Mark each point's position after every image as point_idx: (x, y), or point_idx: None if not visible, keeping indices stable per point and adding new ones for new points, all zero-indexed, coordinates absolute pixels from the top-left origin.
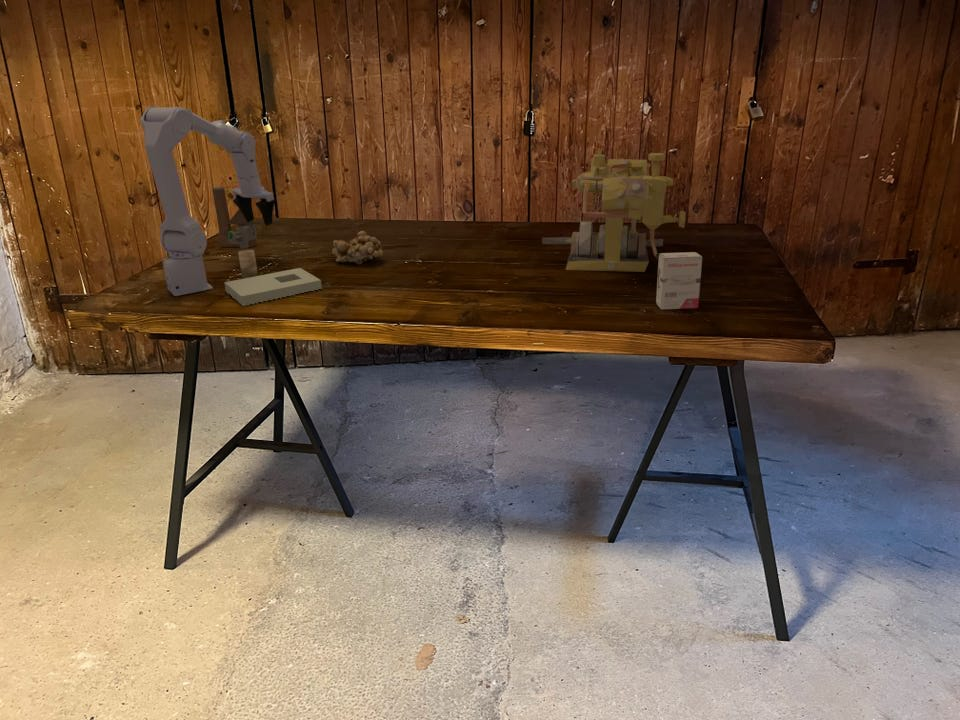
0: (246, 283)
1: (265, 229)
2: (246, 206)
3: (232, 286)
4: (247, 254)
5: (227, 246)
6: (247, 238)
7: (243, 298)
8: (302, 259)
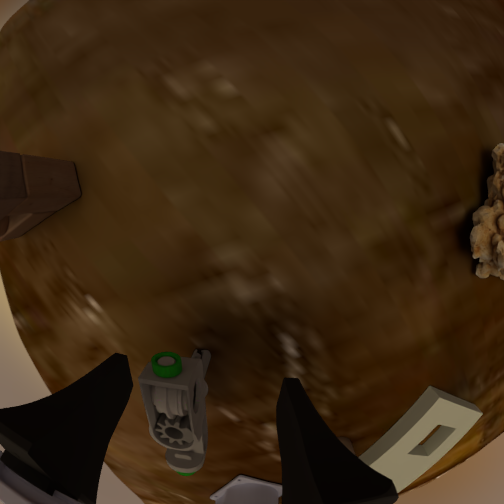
0: None
1: (31, 50)
2: (91, 441)
3: None
4: None
5: (29, 228)
6: (204, 407)
7: None
8: (364, 262)
